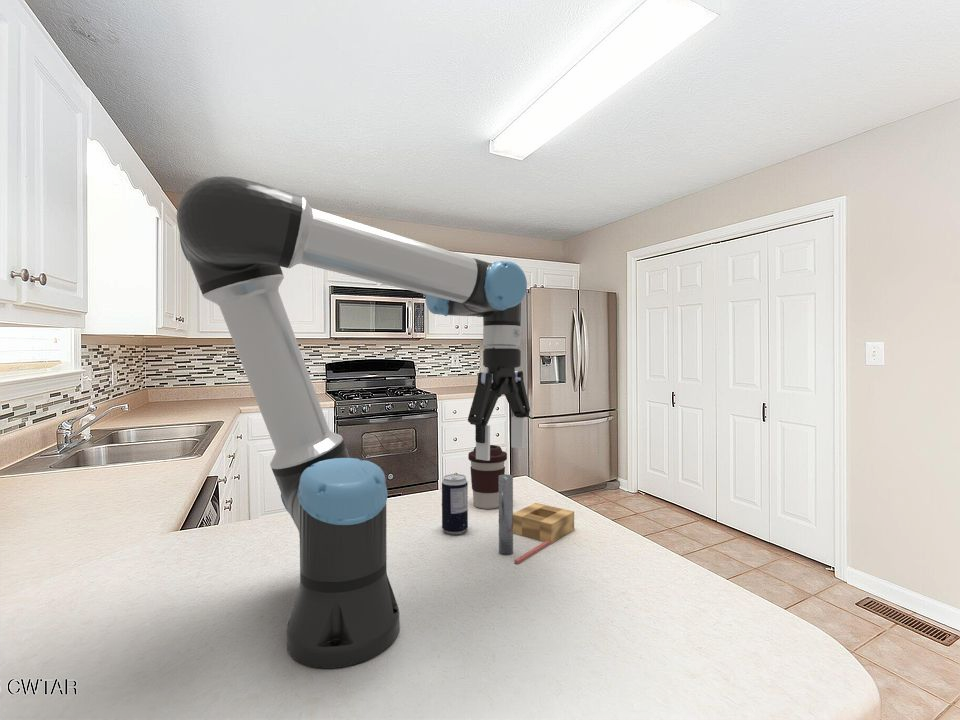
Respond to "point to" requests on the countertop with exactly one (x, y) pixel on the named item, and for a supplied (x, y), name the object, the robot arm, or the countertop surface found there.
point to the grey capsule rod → (505, 514)
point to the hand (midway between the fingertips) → (501, 453)
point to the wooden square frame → (543, 522)
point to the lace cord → (532, 552)
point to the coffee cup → (487, 477)
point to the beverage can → (454, 504)
